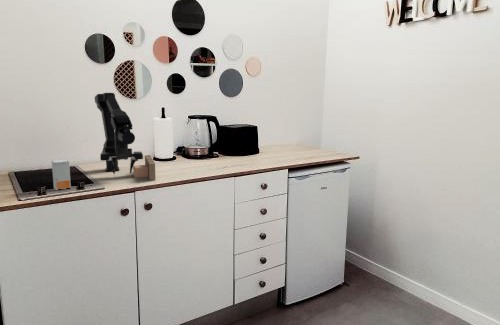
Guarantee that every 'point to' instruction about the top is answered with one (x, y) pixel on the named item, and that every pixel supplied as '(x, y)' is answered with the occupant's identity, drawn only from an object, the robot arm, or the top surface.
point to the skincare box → (61, 174)
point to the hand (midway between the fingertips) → (122, 173)
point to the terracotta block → (140, 171)
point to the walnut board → (150, 167)
